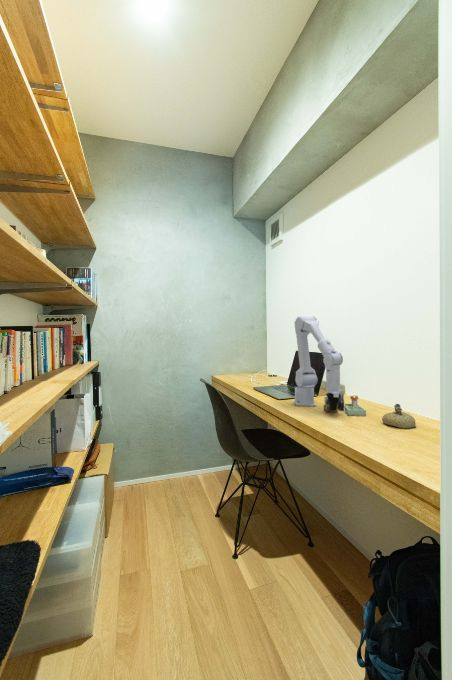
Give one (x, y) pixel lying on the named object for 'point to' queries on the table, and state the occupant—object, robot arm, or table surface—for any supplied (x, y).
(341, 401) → the cart
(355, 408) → the pin
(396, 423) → the acorn cap
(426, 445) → the table surface
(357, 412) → the tray
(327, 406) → the brown rectangular block
